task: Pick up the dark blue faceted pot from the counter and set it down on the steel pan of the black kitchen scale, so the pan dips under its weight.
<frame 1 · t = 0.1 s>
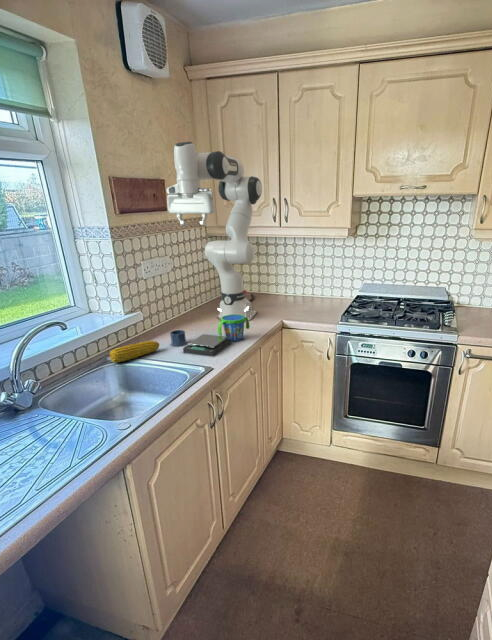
hand: (193, 225, 168), 48 cm above the countertop, tool pointing down, fingers open, 8 cm apart
snack cup: (234, 339, 184), on the countertop, touching scale pan
scale: (207, 348, 174), on the countertop
food: (136, 357, 166), on the countertop
dark blue faceted pot: (179, 343, 180), on the countertop
scale pan: (208, 340, 174), point 3 cm above the countertop, slide at -0.2 cm, touching snack cup
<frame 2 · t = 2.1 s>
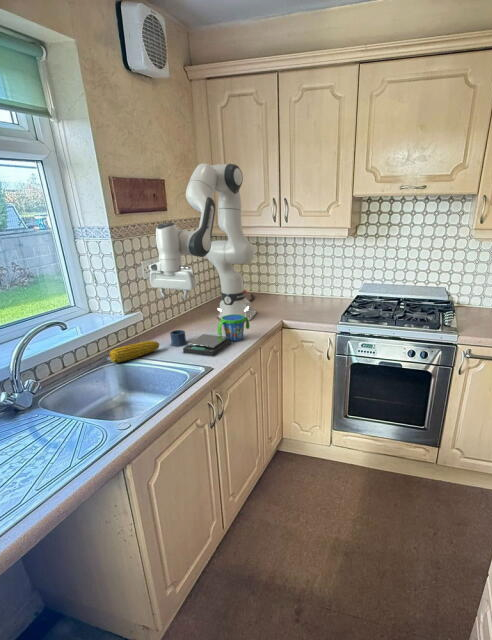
hand: (175, 299, 172), 20 cm above the countertop, tool pointing down, fingers open, 8 cm apart
nothing on the countertop moved.
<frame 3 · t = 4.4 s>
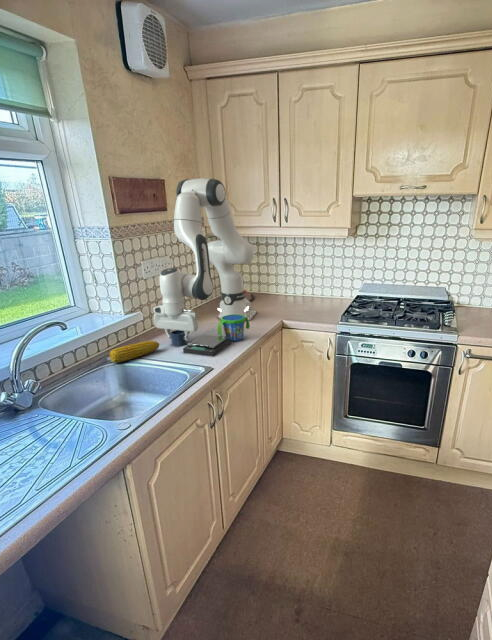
hand: (178, 339, 179), 2 cm above the countertop, tool pointing down, fingers closed on dark blue faceted pot, 6 cm apart
dark blue faceted pot: (179, 343, 180), on the countertop, touching gripper
everything else where it was.
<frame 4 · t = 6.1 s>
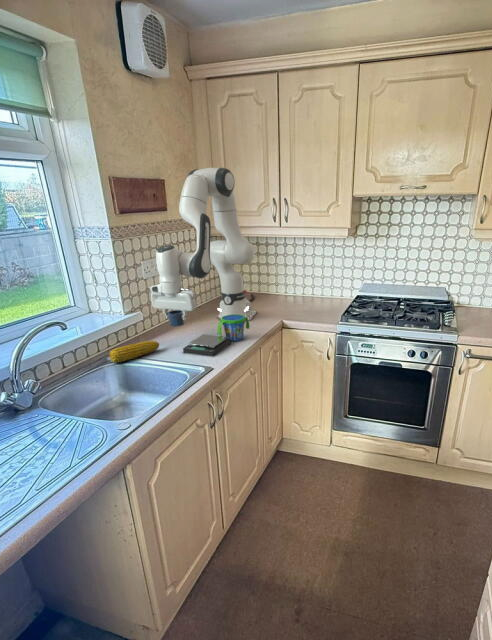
hand: (176, 319, 175), 11 cm above the countertop, tool pointing down, fingers closed on dark blue faceted pot, 6 cm apart
dark blue faceted pot: (177, 324, 176), point 9 cm above the countertop, touching gripper
everything else where it was.
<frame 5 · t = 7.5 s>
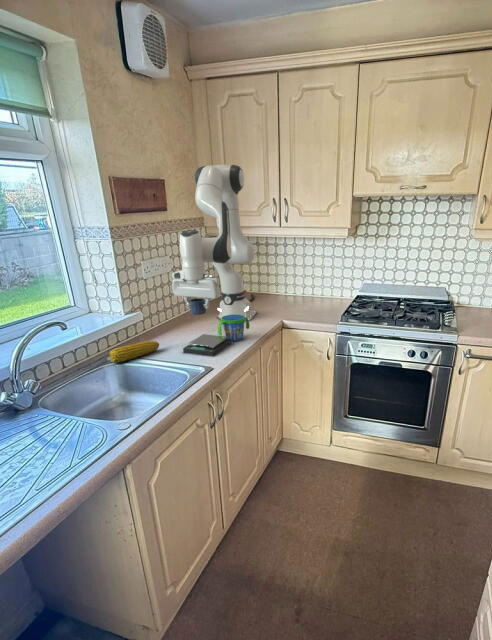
hand: (198, 307, 168), 17 cm above the countertop, tool pointing down, fingers closed on dark blue faceted pot, 6 cm apart
dark blue faceted pot: (198, 312, 169), point 15 cm above the countertop, touching gripper
everything else where it was.
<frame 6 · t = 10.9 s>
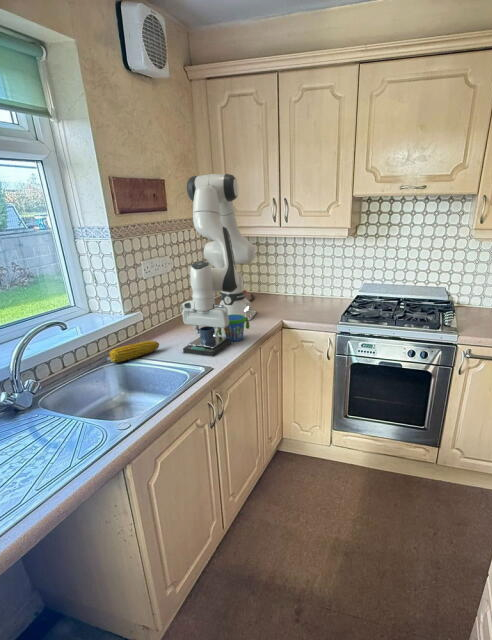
hand: (207, 335, 173), 5 cm above the countertop, tool pointing down, fingers closed on dark blue faceted pot, 6 cm apart
snack cup: (234, 339, 184), on the countertop
dark blue faceted pot: (208, 340, 173), point 3 cm above the countertop, touching gripper, scale pan
scale pan: (208, 341, 174), point 3 cm above the countertop, slide at -0.5 cm, touching dark blue faceted pot
everything else where it was.
when the fingers open (5 cm above the countertop, at t = 11.0 s): dark blue faceted pot stays where it is, resting on scale pan.
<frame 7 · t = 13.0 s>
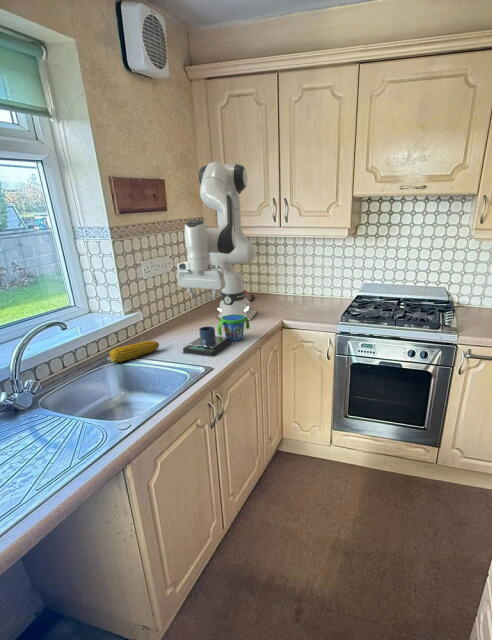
hand: (203, 298, 168), 21 cm above the countertop, tool pointing down, fingers open, 8 cm apart
dark blue faceted pot: (208, 340, 173), point 3 cm above the countertop, touching scale pan
everything else where it was.
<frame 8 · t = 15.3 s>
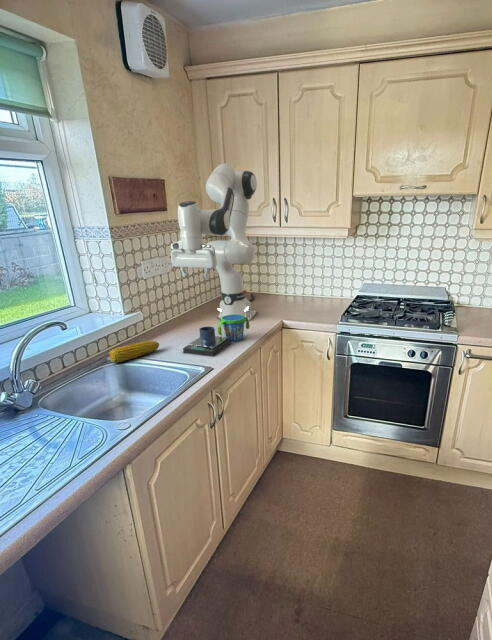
hand: (195, 278, 175), 27 cm above the countertop, tool pointing down, fingers open, 8 cm apart
nothing on the countertop moved.
at the end: dark blue faceted pot inside the target area on the scale (0.1 cm from its centre), point 3.0 cm above the scale's base; dark blue faceted pot tilted 0°; scale pan slide at -0.6 cm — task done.
